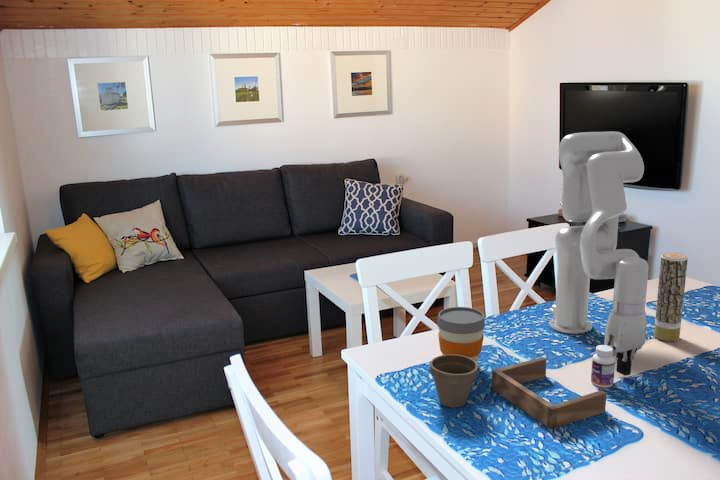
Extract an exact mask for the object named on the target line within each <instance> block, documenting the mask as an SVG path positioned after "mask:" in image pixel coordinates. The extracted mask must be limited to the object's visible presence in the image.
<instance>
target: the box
mask: <svg viewBox="0 0 720 480" xmlns="http://www.w3.org/2000/svg"><path fill="white" fill-rule="evenodd" d="M546 375H547V358H546V357H544V356H540V357H538V358H533V359H530V360H526V361H521V362H518V363H514V364H511V365H507V366H503V367H499V368H496V369H495V368H494V369H492V370H491V389H492V390H493V391H495V392H496V393H498V394H499V395H500V396H502V397H504V398H505V399H506V400H508V401H509V402H511V403H512V404H514V405H515V406H517V407H518V408H519V409H521V410H522V411H523V412H525V413H527V414H528V415H529V416H530V417H532V418H534V419H535V420H536V421H538V422H539V423H541V424H542V425H543V426H545V427H547V428H548V429H549V428H550V429H549V430H551V429H552V430H555V429H558V428H561V427H564V426H567V425H570V423H571V424H573V423H572V422H574V423H577V422H579V421H578V420H580V421H582V420H581V419H583V420H585V419H584V418H586V419H588V417H589V418H592V417H595V416H598V415H601V414H604V413H603V412H605V413H606V406H607V394H608V393H607V391H606V392H605V391H604V390H602V389H601V390H597V391H594V392H591V393H588V394H585V395H581V396H578V397H576V398H575V397H574V398H571V399H569V400H565V401H562V402H558V403H555V404H552V403H551V402H549V401H548V400H546V399H544V398H543V397H541V396H540V395H538V393H537V394H536V393H535V392H534V391H532V390H531V389H529V388H527V387H525V385H523V384H526V383H528V382H531V381H536V380H539V379H542V378H546ZM600 413H601V414H600ZM597 414H598V415H597ZM594 415H595V416H594ZM591 416H592V417H591ZM576 421H577V422H576ZM566 424H567V425H566ZM557 427H558V428H557Z"/></svg>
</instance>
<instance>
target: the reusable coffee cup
mask: <svg viewBox="0 0 720 480" xmlns="http://www.w3.org/2000/svg"><path fill="white" fill-rule="evenodd" d="M485 320H486V319H485V314H484V313H483V312H482V311H481V310H479V309H476V308H472V307H467V306H466V307H465V306H454V307H446V308H444V309H442V310H440V311H438V315H437V322H436V323H437V324H436V325H437V327H438V330H439V331H438V334H437V335H438V342H439V343H438V344H439V350H440V352H441V354H442V355H450V354H452V355H462V356H466V357H469V358H471V359H473V360H474V361H476V362H477V364H478V365H479V357H480V354H481V353H482V349H483V343H484V337H485V336H484V333H483V332H484V329H485V327H486V323H485Z"/></svg>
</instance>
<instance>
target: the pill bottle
mask: <svg viewBox="0 0 720 480" xmlns="http://www.w3.org/2000/svg"><path fill="white" fill-rule="evenodd" d="M591 361H592V363H591V373H590V382H591V384H592V385H593V386H596V387H598V388H604V389H605V388H606V389H607V388H611V387H612V386H614V381H615V370H616V368H615V367H616V357H614V356H613V348H612V347H610V346H608V345H604V344H599V345H596V347H595V353H594V354H593V356H592V360H591Z"/></svg>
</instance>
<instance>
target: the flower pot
mask: <svg viewBox="0 0 720 480" xmlns="http://www.w3.org/2000/svg"><path fill="white" fill-rule="evenodd" d="M478 372H479V363H478V364H477V362H476V361H474V360H473V359H471V358H469V357H466V356H462V355H452V354H450V355H438V356H436V357H434V358H432V359H431V360H430V363H429V373H430V375H431V376H432V377H433V379H434V384H435V389H436V393H437V396H438V400H439V403H440V404H441V405H442V406H445V407H448V408H460V407H463V406H465V405H466V404H467V401H468V399H469V396H470V393H471V389H472V386H473V382H474V380H476V379H477V377H478V375H479V373H478Z"/></svg>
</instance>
